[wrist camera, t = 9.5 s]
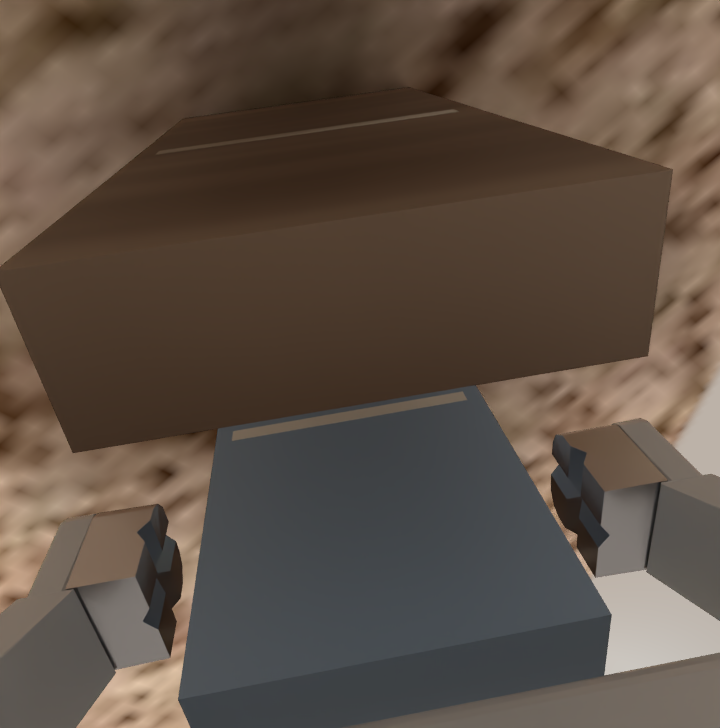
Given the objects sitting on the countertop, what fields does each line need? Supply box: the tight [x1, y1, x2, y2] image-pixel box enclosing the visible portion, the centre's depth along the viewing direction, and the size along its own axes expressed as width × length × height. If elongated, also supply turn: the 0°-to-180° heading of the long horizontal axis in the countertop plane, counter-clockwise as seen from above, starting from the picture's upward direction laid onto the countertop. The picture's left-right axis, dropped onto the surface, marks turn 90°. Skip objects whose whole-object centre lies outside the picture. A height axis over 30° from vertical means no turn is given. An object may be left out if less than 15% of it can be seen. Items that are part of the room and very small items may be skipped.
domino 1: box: [0, 87, 673, 453], centre depth 9 cm, size 2×5×10 cm, turn 97°
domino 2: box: [178, 385, 611, 728], centre depth 11 cm, size 2×5×10 cm, turn 97°
